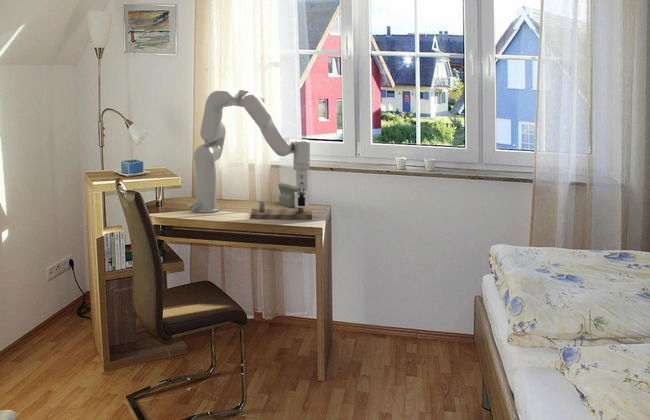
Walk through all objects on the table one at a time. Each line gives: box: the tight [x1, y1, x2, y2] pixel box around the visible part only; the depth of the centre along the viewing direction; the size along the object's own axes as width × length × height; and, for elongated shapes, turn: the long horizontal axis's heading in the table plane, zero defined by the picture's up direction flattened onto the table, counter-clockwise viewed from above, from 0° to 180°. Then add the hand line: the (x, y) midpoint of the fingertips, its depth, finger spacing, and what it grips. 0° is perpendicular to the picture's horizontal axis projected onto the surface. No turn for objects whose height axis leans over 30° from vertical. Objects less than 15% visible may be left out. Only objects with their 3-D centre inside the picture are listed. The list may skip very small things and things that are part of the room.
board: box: [250, 200, 313, 220], centre depth 348 cm, size 28×12×10 cm, turn 93°
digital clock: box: [278, 181, 298, 208], centre depth 373 cm, size 16×9×11 cm, turn 28°
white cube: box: [294, 191, 310, 209], centre depth 348 cm, size 6×6×6 cm
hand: (301, 204), depth 348 cm, fingers closed on white cube, 6 cm apart
